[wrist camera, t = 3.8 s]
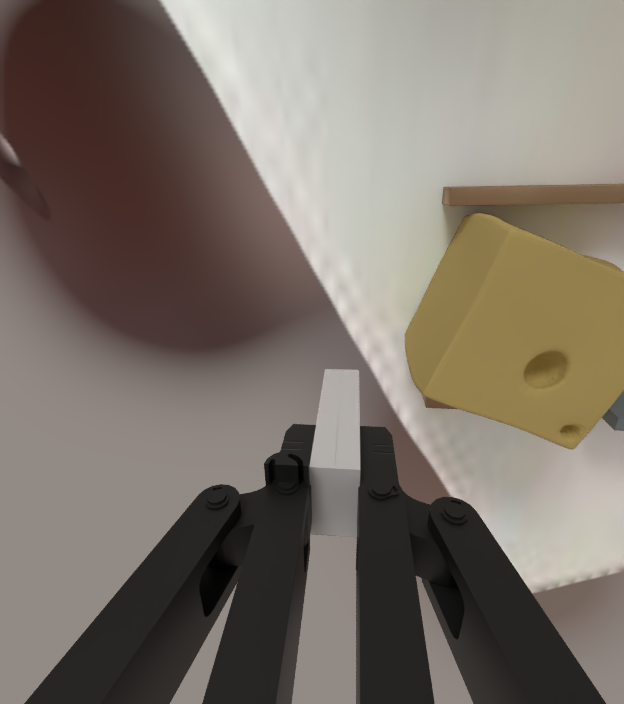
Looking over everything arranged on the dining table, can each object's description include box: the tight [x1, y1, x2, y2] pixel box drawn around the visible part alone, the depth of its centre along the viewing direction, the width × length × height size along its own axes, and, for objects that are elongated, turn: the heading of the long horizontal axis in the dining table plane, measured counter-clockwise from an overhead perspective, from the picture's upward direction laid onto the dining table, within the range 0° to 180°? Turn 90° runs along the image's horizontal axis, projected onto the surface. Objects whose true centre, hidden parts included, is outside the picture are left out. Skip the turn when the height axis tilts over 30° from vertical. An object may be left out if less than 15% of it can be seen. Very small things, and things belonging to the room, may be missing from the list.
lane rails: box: [422, 184, 624, 409], centre depth 28 cm, size 16×12×2 cm
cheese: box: [405, 213, 624, 449], centre depth 25 cm, size 10×11×10 cm
